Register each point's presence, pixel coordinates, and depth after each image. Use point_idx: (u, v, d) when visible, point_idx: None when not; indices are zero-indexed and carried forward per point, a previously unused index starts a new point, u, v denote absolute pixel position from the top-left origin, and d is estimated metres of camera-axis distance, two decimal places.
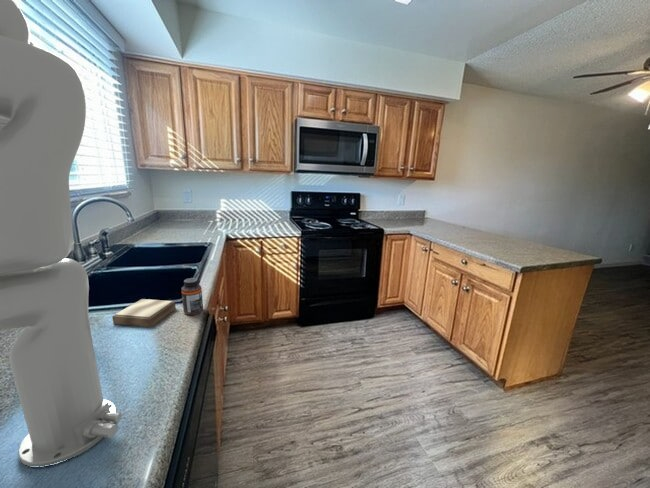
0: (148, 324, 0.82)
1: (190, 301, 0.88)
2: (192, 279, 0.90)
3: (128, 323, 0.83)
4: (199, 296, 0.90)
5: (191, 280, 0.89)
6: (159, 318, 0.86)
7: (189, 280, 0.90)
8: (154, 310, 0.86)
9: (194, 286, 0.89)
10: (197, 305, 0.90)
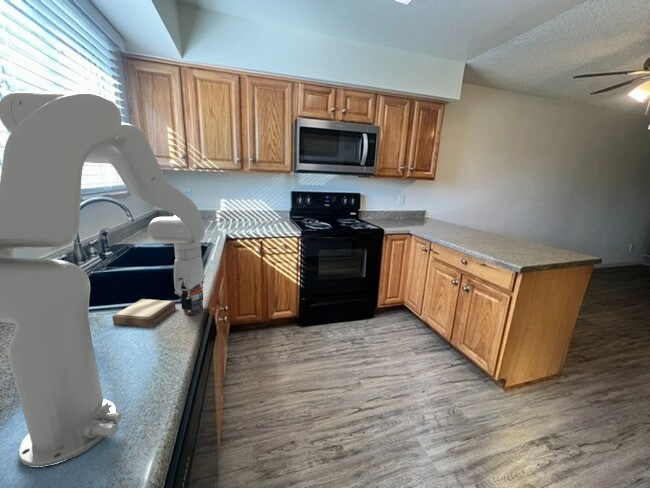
0: (148, 324, 0.82)
1: None
2: None
3: (128, 323, 0.83)
4: (199, 296, 0.90)
5: None
6: (159, 318, 0.86)
7: None
8: (154, 310, 0.86)
9: None
10: (197, 305, 0.90)
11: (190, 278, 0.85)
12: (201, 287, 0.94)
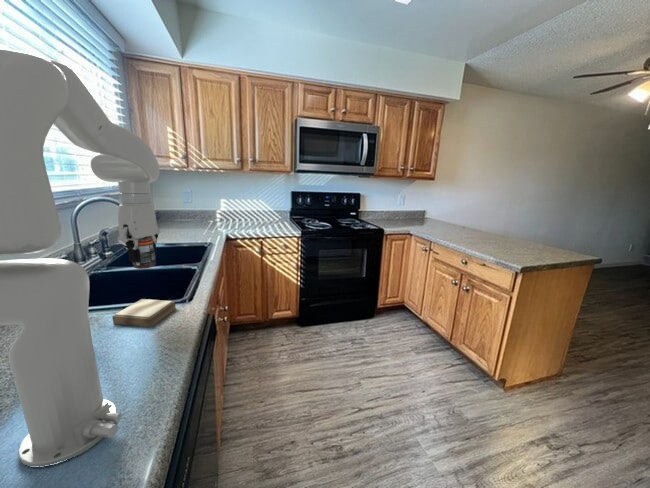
0: (148, 324, 0.82)
1: None
2: None
3: (128, 323, 0.83)
4: (149, 249, 0.83)
5: None
6: (159, 318, 0.86)
7: None
8: (154, 310, 0.86)
9: (144, 237, 0.82)
10: (146, 258, 0.82)
11: (136, 225, 0.78)
12: (154, 241, 0.87)
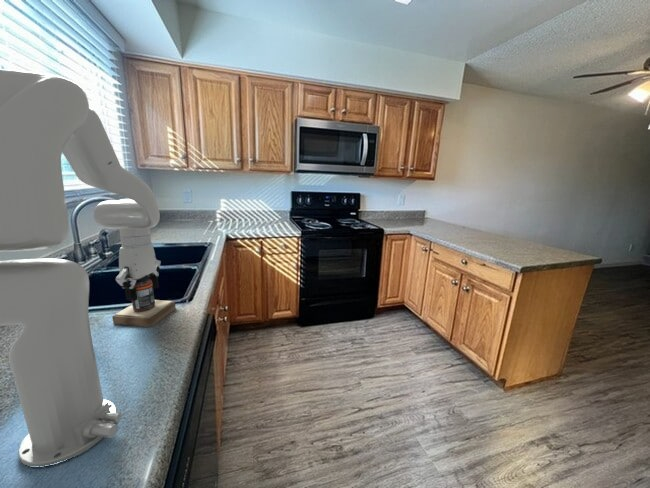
0: (148, 324, 0.82)
1: (138, 297, 0.83)
2: None
3: (128, 323, 0.83)
4: (149, 292, 0.85)
5: None
6: (159, 318, 0.86)
7: None
8: (154, 310, 0.86)
9: (143, 281, 0.84)
10: (146, 301, 0.85)
11: (136, 267, 0.81)
12: (156, 274, 0.90)
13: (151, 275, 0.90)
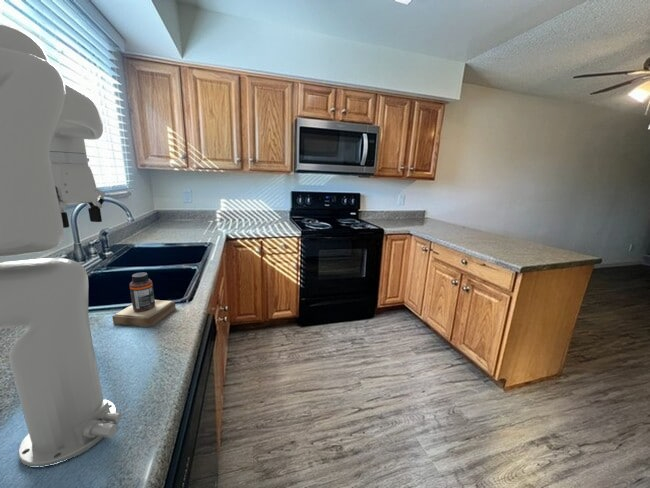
0: (148, 324, 0.82)
1: (138, 297, 0.83)
2: (141, 273, 0.85)
3: (128, 323, 0.83)
4: (149, 292, 0.85)
5: (140, 274, 0.84)
6: (159, 318, 0.86)
7: (138, 274, 0.85)
8: (154, 310, 0.86)
9: (143, 281, 0.84)
10: (146, 301, 0.85)
11: (67, 188, 0.70)
12: (98, 205, 0.80)
13: (92, 206, 0.80)
